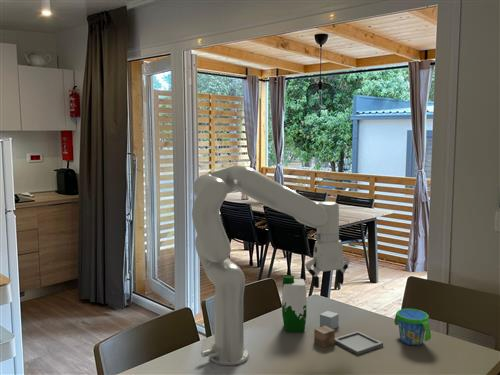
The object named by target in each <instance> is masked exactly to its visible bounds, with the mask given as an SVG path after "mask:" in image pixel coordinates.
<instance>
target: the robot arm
mask: <svg viewBox="0 0 500 375" xmlns="http://www.w3.org/2000/svg"><path fill="white" fill-rule="evenodd" d="M192 188H193V194H194V195H195V196H196V197H195V199H194V202H193V204H192V208H191V220H192V223H193V226H194V230H195V232H196V236H195V241H194V245H195V246H194V247H195V251H196V254H197V256H198V257H199V258H198V259H199V261H200V263H201V265H202V269H203V271H204V273H205V276H206V277H207V279H208V280H209V281H210V282H211V283H212V284H213V286H214V287H215V288H214V289H215V291H214V297H213V298H214V299H213V315H214V316H213V322H214V323H213V324H214V343H212V344H211V347H210V348H209V349H205V350H201V352H200V355H201V357H202V358H206V357H208V359H210V360H211V362H213V363H215V364H217V365H220V366H227V367H228V366H236V365H240V364H243V363H244V362H246V361H247V360H248V359H249V357H250V356H249V354H250V353H249V351H248V349H246V348H244V347H245V340H244V338H245V336H244V332H245V331H244V327H245V326H244V293H245V287H246V278H245V277H246V276H245V273H244V272H243V270H242V269H241V267H240V266H238V265H237V264H236V263H235V262H233V261H231V259H230V256H231V252H232V246H231V243H230V240H229V238H228V235H227V233H226V230H225V227H224V226H223V222H222V218H221V215H220V210H221V206H222V205H223V203H224V201H225V199H226V197H227V195H228V194H231V193H233V192H240V193H242V194H244V195H246V196H247V197H249V198H251V199H253V200H255V201H257V202H259V203H261V204H263V205H264V206H266V207H268V208H269V209H272V210H275V211H277V212H280V213H283V214H285V215H288V216H290V217H293V218H294V219H295V221H296V222H298V223H300V224H301V225H305V226H308V227H311V228H314V229H316V234H315V235H313V239H314V240H316V241H315V243H314V246H313V257H312V259H310V260H309V261H308V262H307V263H305V265H304V266H305V269H306V270H307V272H308V273H309V274H310V275H311V284H312V286H313V287H314V288H316V289H319V287H320V277H319V276H318V275H319V274H320V273H321V272H322V273H323V272H331V271H337V272H336V282H337V283H338V284H339V285H343V284H344V280H345V278H344V276H345V273H346V271H347V269H348V268H349V264H350V262H351V259H350V258H348V257H346V256H345V255H344V250H343V243H342V240H341V239H340V207H339V206H340V205H339V204H338V203H337V202H335V201H320V202H315V201H313V200H312V199H309V198H308V197H305V195H302V194H299V193H298V192H295V190H292V189H290V188H289V187H287V186H285V185H283V184H281V183H279V182H277V181H276V180H274V179H271V178H270V177H269V176H267V175H264V174H263V173H261V172H259V171H257V169H254V168H252V167H249V166H245V165H244V166H243V165H233V166H230V167H225V168H222V169H220V170H219V169H218V170H216V171H211V172H208V173H205V174H202V175H200V176H198V177H197V178H196V179H195V181H194V183H193V186H192ZM312 266H313V268H312Z"/></svg>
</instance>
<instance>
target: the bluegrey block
mask: <svg viewBox="0 0 500 375" xmlns="http://www.w3.org/2000/svg"><path fill="white" fill-rule="evenodd" d="M339 315H340V314H339V313H337V312H333V311H330V310H325V311H324V312H322V313H320V314H319V327H322V326H327V327H329V328H331V329H333V330H335V329H336V328H338V327H339V325H340V324H339V323H340V322H339V318H340V317H339Z"/></svg>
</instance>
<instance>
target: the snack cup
mask: <svg viewBox="0 0 500 375" xmlns="http://www.w3.org/2000/svg"><path fill="white" fill-rule="evenodd" d="M429 318H430V316H429V314H428V313H427V312H425V311H423V310H420V309H416V308H402V309H398V310H397V311H396V312H395V317H394V322H393V323H394V325H395V326H398V330H399V331H398V332H399V338H400V341H401V342H402V343H404V344H406V345H408V346H421V345H422V344H423V342H428V341H430V340H431V338H432V333H431V327H430V324H429Z"/></svg>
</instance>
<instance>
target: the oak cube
mask: <svg viewBox="0 0 500 375" xmlns="http://www.w3.org/2000/svg"><path fill="white" fill-rule="evenodd" d="M313 330H314V331H313V332H314V334H313V335H314V336H313V340H314V344H317V345H318V346H320V347H322V348H326V347H329V346H333V345H336V343H335V338H336V336H335V334H336V330H335V329H331V328H329V327H327V326H322V327H320V326H319V327H315V328H314V329H313Z"/></svg>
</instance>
